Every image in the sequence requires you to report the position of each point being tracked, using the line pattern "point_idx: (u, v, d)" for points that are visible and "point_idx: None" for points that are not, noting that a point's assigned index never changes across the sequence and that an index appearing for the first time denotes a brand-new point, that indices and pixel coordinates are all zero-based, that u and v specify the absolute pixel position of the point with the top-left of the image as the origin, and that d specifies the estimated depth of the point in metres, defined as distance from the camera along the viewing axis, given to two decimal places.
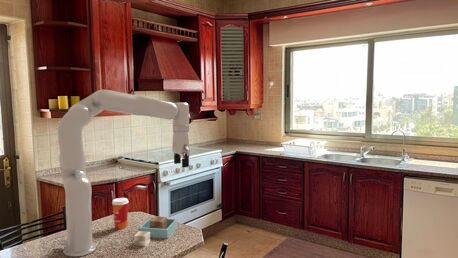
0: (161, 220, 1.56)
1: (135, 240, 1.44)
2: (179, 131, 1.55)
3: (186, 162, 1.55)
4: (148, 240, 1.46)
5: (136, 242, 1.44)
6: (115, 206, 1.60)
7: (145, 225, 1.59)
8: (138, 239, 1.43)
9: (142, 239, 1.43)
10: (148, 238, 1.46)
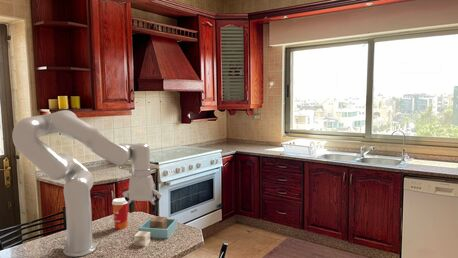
0: (161, 220, 1.56)
1: (135, 240, 1.44)
2: (146, 176, 1.41)
3: (155, 207, 1.44)
4: (148, 240, 1.46)
5: (136, 242, 1.44)
6: (115, 206, 1.60)
7: (145, 225, 1.59)
8: (139, 239, 1.43)
9: (142, 239, 1.43)
10: (148, 238, 1.46)
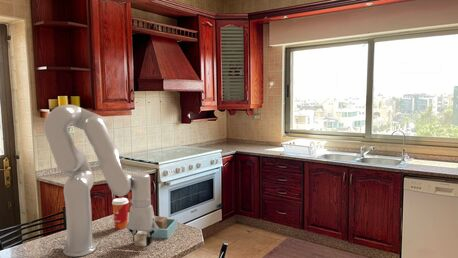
0: (161, 220, 1.56)
1: (135, 240, 1.44)
2: (146, 206, 1.42)
3: (150, 239, 1.45)
4: None
5: (136, 242, 1.44)
6: (115, 206, 1.60)
7: None
8: (139, 239, 1.43)
9: (142, 239, 1.43)
10: None
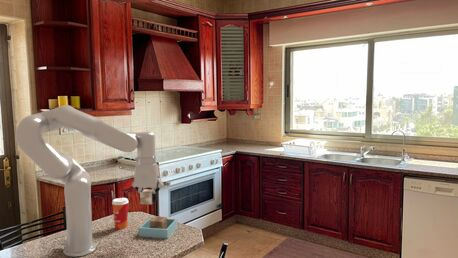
0: (161, 220, 1.56)
1: (141, 197, 1.46)
2: (151, 163, 1.44)
3: (156, 196, 1.48)
4: None
5: (142, 199, 1.46)
6: (115, 206, 1.60)
7: (145, 225, 1.59)
8: (144, 196, 1.46)
9: (148, 195, 1.46)
10: None
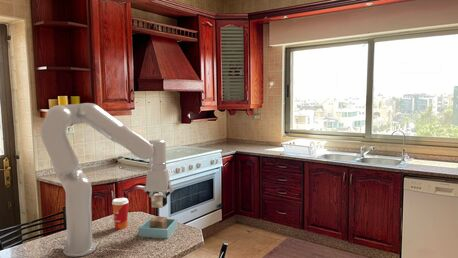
0: (161, 220, 1.56)
1: (152, 200, 1.56)
2: (162, 169, 1.54)
3: (166, 200, 1.57)
4: None
5: (153, 203, 1.56)
6: (115, 206, 1.60)
7: (145, 225, 1.59)
8: (155, 200, 1.55)
9: (159, 199, 1.55)
10: None
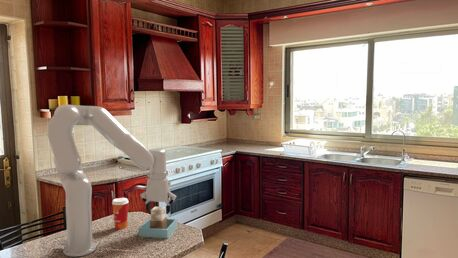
0: None
1: (152, 214, 1.56)
2: (162, 179, 1.54)
3: (170, 208, 1.57)
4: (163, 214, 1.58)
5: (152, 216, 1.56)
6: (115, 206, 1.60)
7: (145, 225, 1.59)
8: (155, 213, 1.56)
9: (158, 213, 1.55)
10: (163, 212, 1.58)
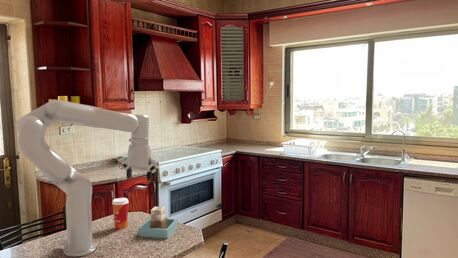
0: None
1: (152, 214, 1.56)
2: (144, 144, 1.52)
3: (151, 175, 1.54)
4: (163, 214, 1.58)
5: (152, 216, 1.56)
6: (115, 206, 1.60)
7: (145, 225, 1.59)
8: (155, 213, 1.56)
9: (158, 213, 1.55)
10: (163, 212, 1.58)
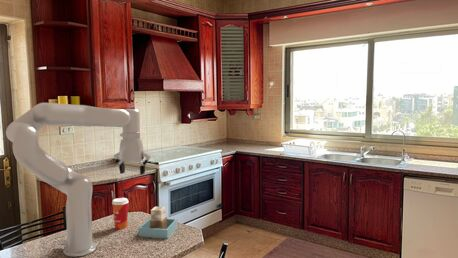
0: None
1: (152, 214, 1.56)
2: (136, 138, 1.51)
3: (144, 169, 1.54)
4: (163, 214, 1.58)
5: (152, 216, 1.56)
6: (115, 206, 1.60)
7: (145, 225, 1.59)
8: (155, 213, 1.56)
9: (158, 213, 1.55)
10: (163, 212, 1.58)
